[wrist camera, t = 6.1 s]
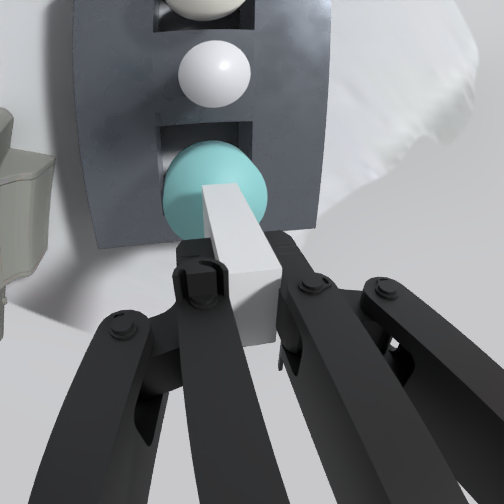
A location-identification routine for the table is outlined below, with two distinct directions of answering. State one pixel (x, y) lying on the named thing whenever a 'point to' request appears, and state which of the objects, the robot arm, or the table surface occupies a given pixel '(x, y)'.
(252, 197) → the knob outer
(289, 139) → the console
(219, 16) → the knob inner
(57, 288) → the table surface
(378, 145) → the table surface
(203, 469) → the robot arm
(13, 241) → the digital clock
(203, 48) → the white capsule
